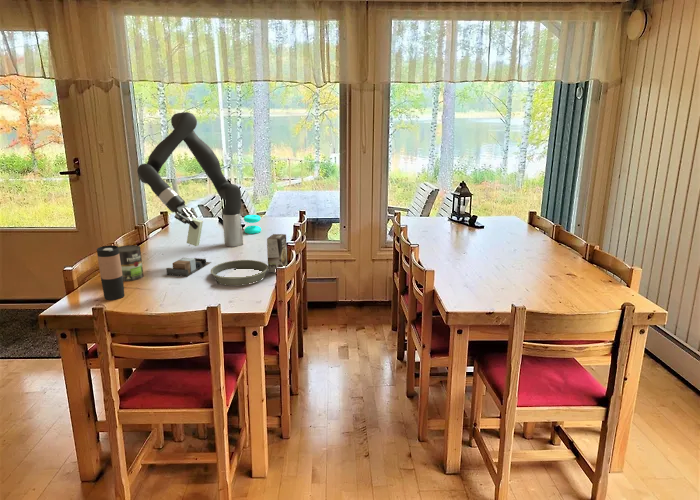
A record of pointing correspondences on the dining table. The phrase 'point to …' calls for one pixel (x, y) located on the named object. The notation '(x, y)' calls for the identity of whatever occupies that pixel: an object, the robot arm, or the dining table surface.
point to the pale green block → (194, 233)
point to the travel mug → (110, 272)
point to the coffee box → (276, 251)
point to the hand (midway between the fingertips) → (198, 227)
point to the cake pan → (239, 265)
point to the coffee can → (131, 262)
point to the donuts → (252, 220)
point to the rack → (184, 272)
